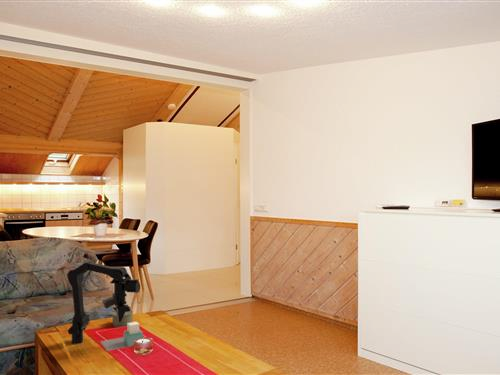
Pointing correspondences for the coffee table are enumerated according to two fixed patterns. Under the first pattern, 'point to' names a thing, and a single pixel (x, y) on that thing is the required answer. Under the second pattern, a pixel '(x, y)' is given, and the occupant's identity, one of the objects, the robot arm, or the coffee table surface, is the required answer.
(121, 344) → the plate
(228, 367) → the coffee table surface
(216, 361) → the coffee table surface
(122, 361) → the coffee table surface
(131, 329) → the off-white block
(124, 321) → the can
